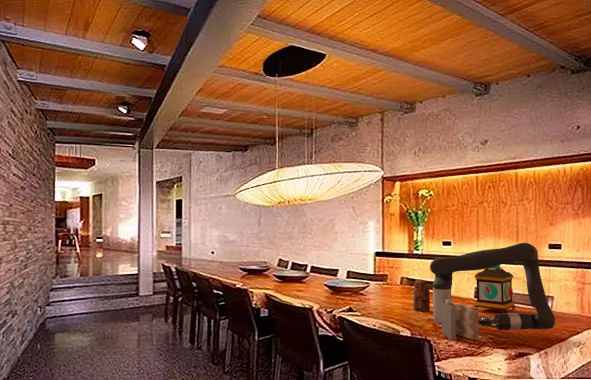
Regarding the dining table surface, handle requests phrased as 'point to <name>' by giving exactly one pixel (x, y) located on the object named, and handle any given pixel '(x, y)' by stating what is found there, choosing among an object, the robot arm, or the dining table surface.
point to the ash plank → (466, 320)
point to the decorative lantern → (494, 289)
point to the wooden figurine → (421, 296)
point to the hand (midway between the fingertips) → (470, 322)
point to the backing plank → (448, 320)
